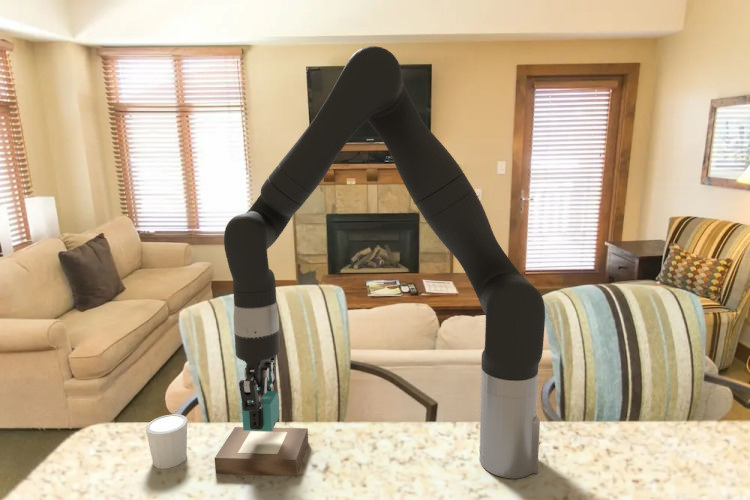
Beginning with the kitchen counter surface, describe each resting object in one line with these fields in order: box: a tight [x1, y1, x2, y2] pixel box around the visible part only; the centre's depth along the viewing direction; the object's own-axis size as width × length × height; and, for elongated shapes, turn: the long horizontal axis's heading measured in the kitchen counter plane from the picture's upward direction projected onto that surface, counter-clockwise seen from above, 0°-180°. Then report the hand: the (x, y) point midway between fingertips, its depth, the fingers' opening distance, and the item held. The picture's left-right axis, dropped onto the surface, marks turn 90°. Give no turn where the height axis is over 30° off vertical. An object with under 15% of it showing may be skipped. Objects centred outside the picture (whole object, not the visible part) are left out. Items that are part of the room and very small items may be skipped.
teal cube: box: [241, 390, 280, 431], centre depth 85 cm, size 5×5×5 cm
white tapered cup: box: [145, 413, 188, 469], centre depth 86 cm, size 7×7×7 cm
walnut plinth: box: [214, 426, 309, 477], centre depth 86 cm, size 14×10×3 cm
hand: (261, 419), depth 85 cm, fingers closed on teal cube, 5 cm apart
